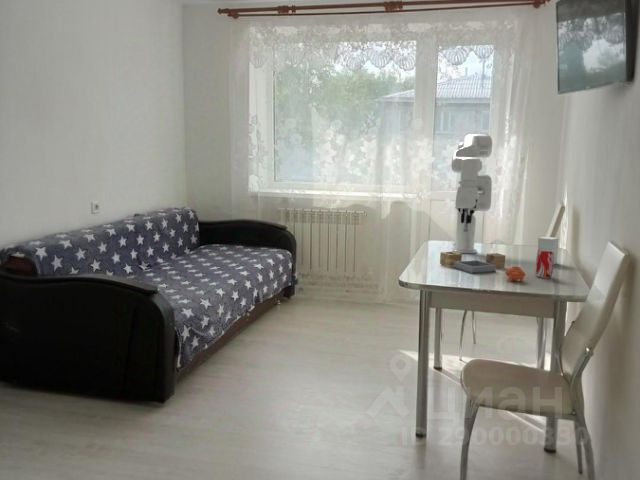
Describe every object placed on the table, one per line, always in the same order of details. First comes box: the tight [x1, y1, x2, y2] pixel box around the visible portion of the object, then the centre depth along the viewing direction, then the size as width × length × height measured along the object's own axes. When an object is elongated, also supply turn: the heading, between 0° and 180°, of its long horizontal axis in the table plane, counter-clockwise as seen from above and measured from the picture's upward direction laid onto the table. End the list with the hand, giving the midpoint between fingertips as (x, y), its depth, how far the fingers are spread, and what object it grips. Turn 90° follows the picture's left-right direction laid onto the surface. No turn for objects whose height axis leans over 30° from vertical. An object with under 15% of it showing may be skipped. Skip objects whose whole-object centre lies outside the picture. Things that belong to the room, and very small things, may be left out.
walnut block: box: [485, 252, 506, 270], centre depth 275 cm, size 6×6×6 cm
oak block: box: [439, 250, 463, 268], centre depth 277 cm, size 7×7×6 cm
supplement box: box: [537, 236, 560, 265], centre depth 286 cm, size 7×7×13 cm
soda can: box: [534, 249, 554, 279], centre depth 255 cm, size 7×7×12 cm
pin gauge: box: [463, 208, 468, 232], centre depth 281 cm, size 2×2×12 cm
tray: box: [453, 259, 497, 275], centre depth 267 cm, size 13×13×3 cm
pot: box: [505, 265, 526, 283], centre depth 247 cm, size 8×8×7 cm
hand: (466, 222), depth 281 cm, fingers closed on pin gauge, 2 cm apart
